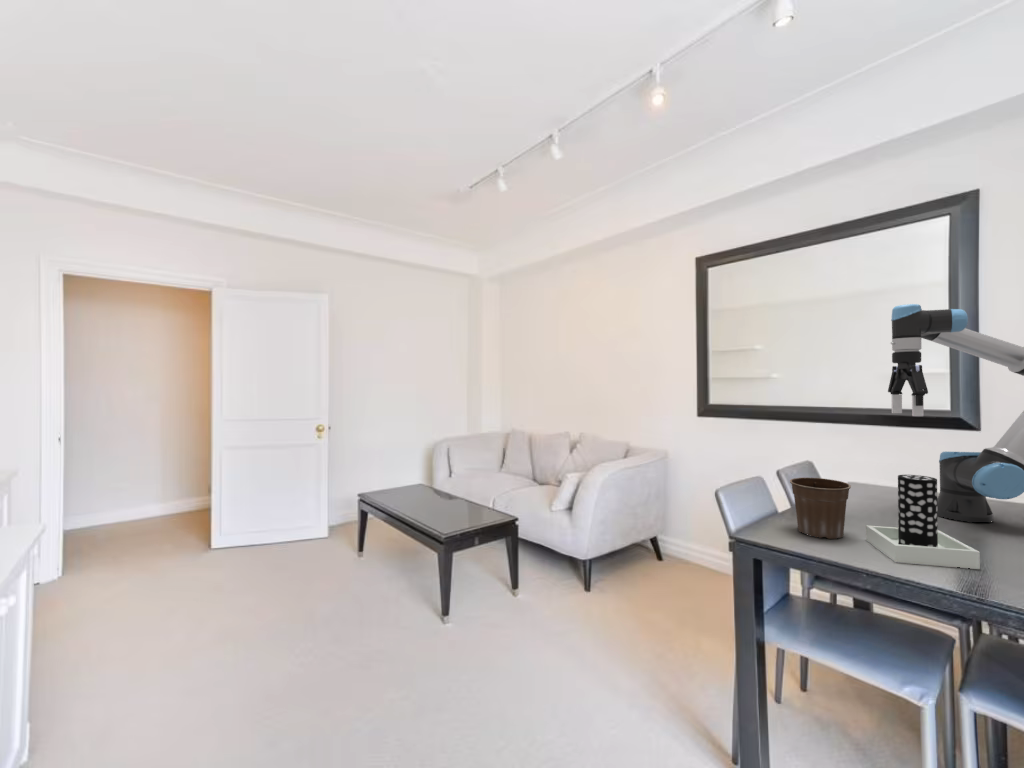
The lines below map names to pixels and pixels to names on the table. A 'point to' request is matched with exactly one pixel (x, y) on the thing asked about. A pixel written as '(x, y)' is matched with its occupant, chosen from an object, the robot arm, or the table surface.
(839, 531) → the plant pot
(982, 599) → the table surface
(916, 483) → the spotted tube
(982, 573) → the table surface
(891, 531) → the tray
